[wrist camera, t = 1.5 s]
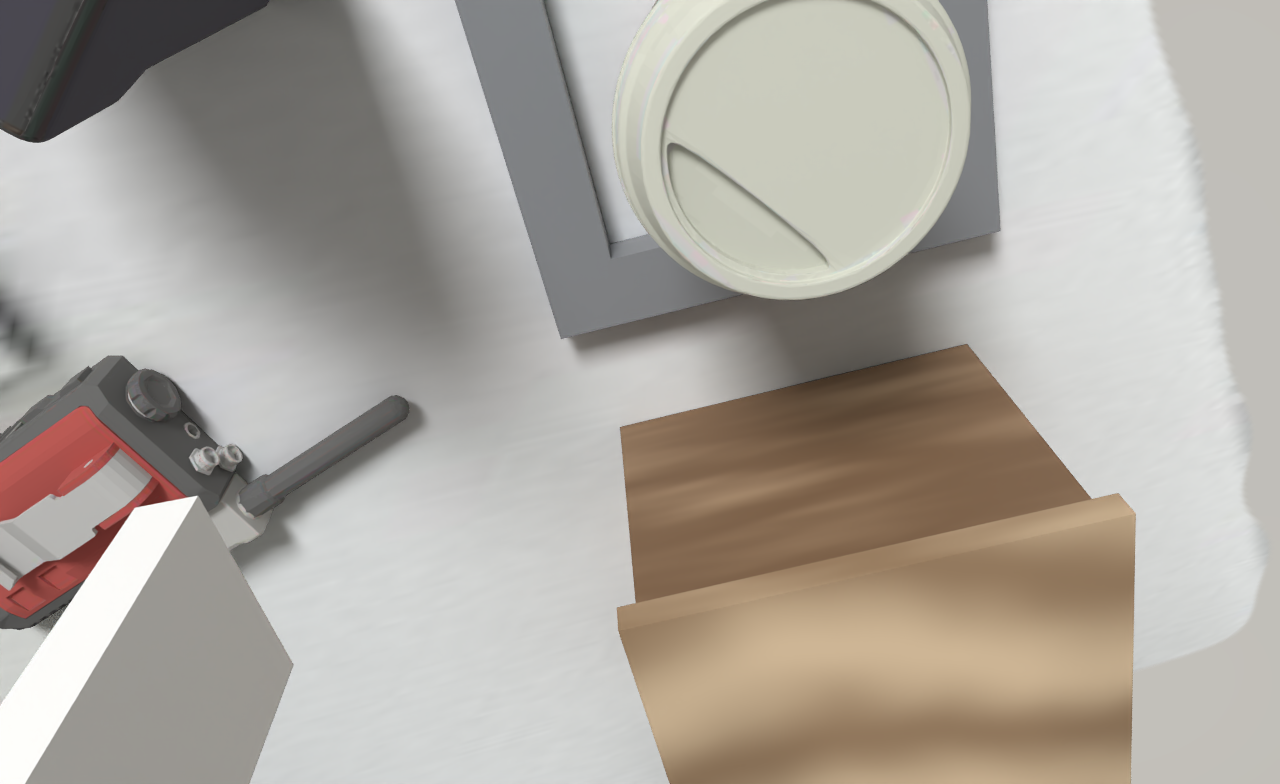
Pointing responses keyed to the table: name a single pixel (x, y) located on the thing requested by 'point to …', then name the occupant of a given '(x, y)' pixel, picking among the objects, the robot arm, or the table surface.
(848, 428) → the riser
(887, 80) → the coffee cup
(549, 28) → the socket
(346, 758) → the table surface
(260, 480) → the walkie-talkie
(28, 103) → the calculator
